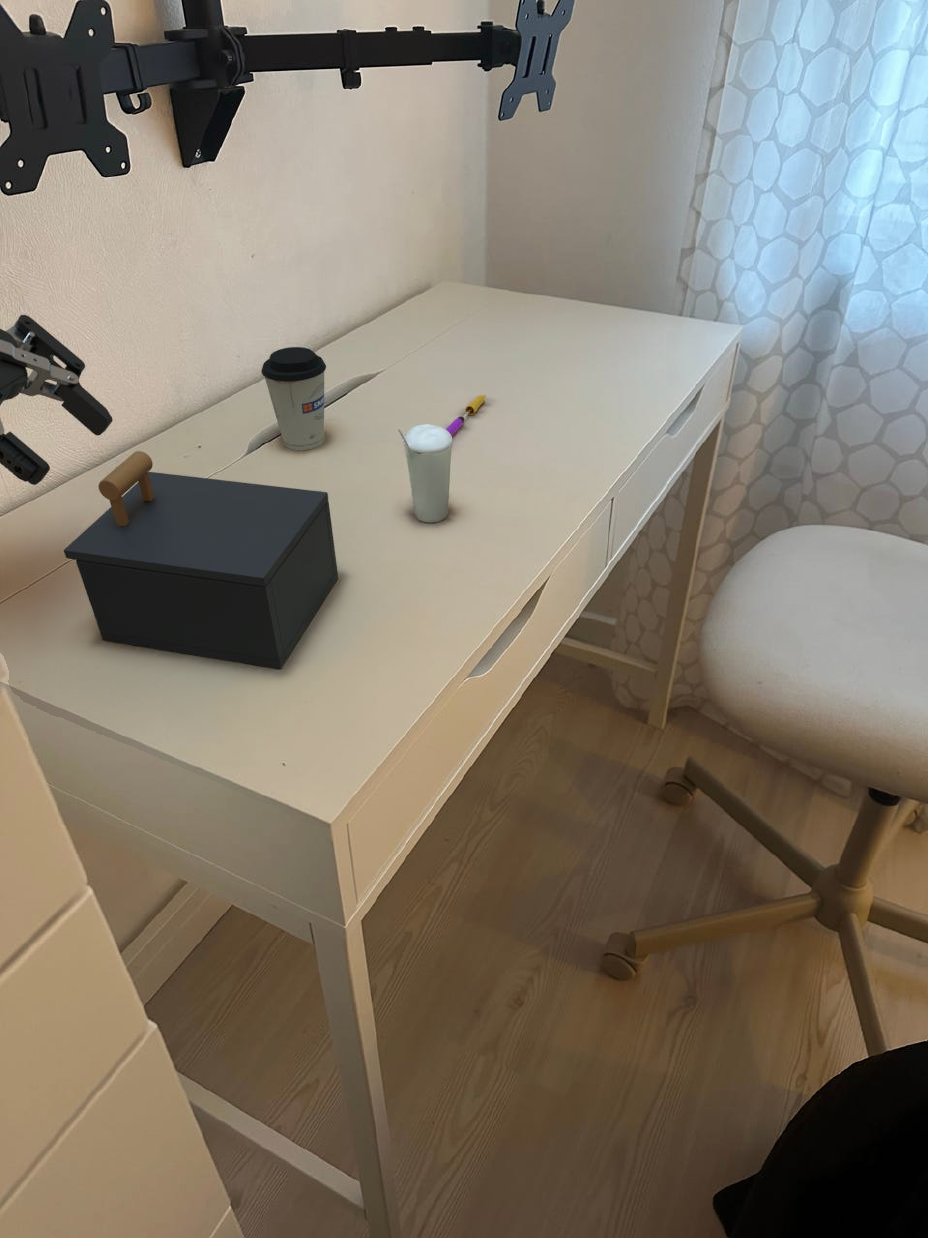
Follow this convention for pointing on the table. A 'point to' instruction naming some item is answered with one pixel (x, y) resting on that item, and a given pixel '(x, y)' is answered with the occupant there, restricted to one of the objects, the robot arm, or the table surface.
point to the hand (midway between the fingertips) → (76, 451)
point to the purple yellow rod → (469, 410)
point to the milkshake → (429, 470)
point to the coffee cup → (297, 395)
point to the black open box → (217, 604)
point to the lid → (195, 524)
